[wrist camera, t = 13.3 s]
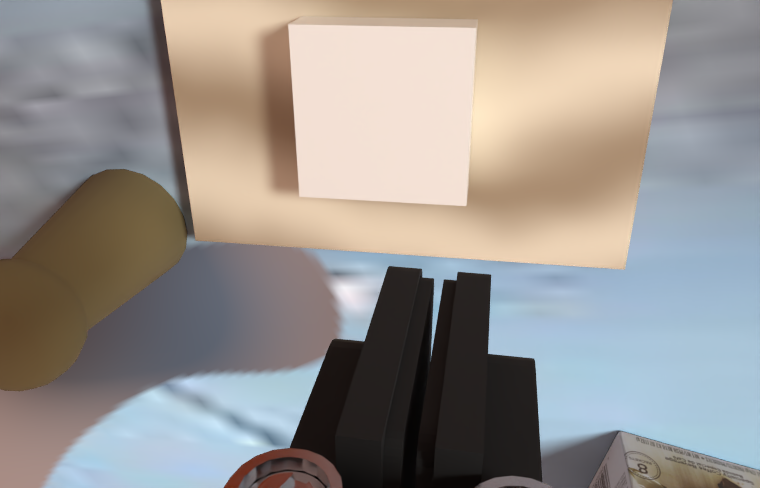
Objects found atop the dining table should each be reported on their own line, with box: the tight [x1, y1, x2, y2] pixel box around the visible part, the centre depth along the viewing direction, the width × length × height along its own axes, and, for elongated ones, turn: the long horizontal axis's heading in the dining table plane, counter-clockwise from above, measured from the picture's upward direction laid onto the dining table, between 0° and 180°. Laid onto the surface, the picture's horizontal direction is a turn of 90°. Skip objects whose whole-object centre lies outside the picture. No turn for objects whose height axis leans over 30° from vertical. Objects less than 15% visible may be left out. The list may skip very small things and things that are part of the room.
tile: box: [288, 16, 478, 206], centre depth 27 cm, size 7×2×7 cm
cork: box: [0, 169, 187, 391], centre depth 30 cm, size 6×6×11 cm
